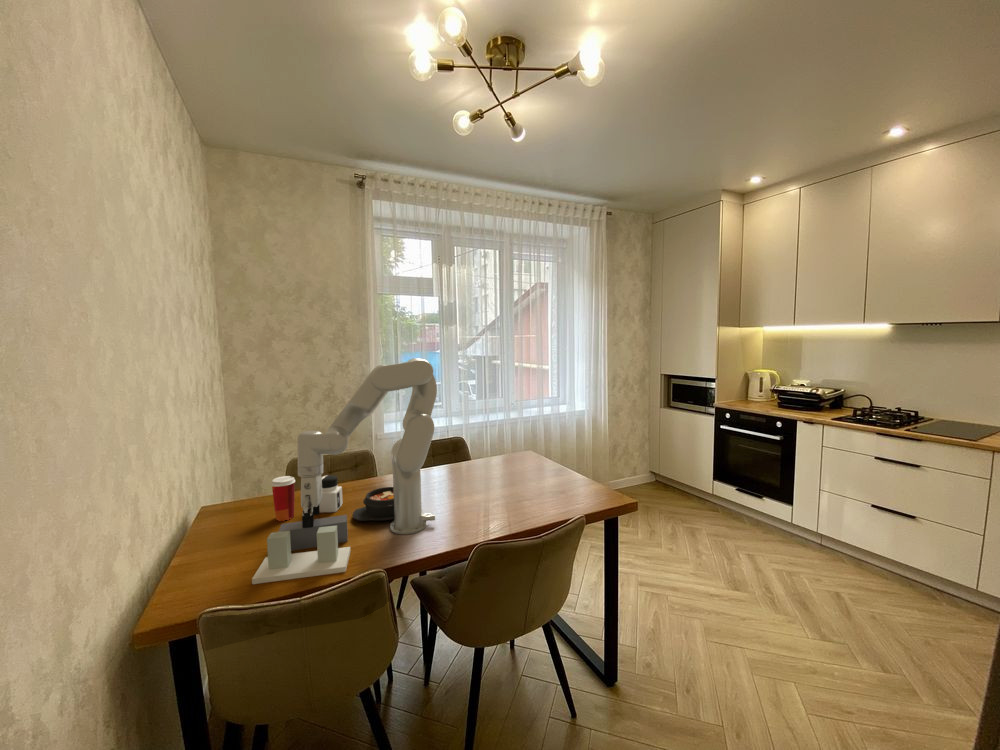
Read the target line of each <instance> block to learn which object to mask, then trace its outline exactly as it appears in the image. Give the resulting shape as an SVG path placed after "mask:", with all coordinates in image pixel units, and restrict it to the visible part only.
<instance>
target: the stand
mask: <svg viewBox="0 0 1000 750" xmlns="http://www.w3.org/2000/svg"><path fill="white" fill-rule="evenodd" d="M266 546H267V547H266V548H267V556H265V557H264V559H263V561H262V563H261V564H260V565H259V567H258V568H257V570H256V572H255V574H254V575H253V576H252V578H251V584H252V585H257V584H264V583H265V584H266V583H271V582H280V581H288V580H295V579H301V578H302V579H303V578H310V577H317V576H325V575H333V574H339V573H345V572H347V569H348V568H347V567H348V564H349V560H350V555H351V552H352V551H351V546H347V547H345V546H344V547H339V543H338V534H337V526H328V527H319V529H318V531H317V547H316V548H317V550H313V551H305V552H295V553H292V551H291V541H290V531H282V532H279V531H275V532H270V534H269V535H268V537H267V538H266Z"/></svg>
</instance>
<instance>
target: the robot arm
mask: <svg viewBox="0 0 1000 750" xmlns="http://www.w3.org/2000/svg"><path fill="white" fill-rule="evenodd" d="M408 388H412V391H411V395H410V399H409V402H408V406H407V408H406V411H405V414H404V417H403V419H402V428H403V432H404V433H403V434H402V435H403V436H402V438H400V439H398V440H397V441H395V443H394V444H393V446H392V448H391V453H390V454H391V455H390V456H391V468H392V484H393V485H392V487H393V495H394V519H393V521H392V522H391V523H390V525H389V529H390V531H391V533H394V534H396V535H397V534H398V535H412V534H416V533H419V532H421V531H423V530H424V529H425V528H426V527H427V522H429V521H431V522H432V521H436V515H435V514H432V513H430V512H428V513H424V512H423V509H422V476H421V475H422V474H421V473H422V472H421V468H422V467H423V466H424V464H425V461H426V459H427V456H428V453H429V449H430V447H431V444H432V441H433V438H434V434H435V433H434V432H435V422H434V420H433V418H432V414H433V410H434V406H435V403H436V398H437V392H438V385H437V380H436V378H435V375H434V367H433V366H432V364H431V363H430V362H429V361H428V360H427V359H424V358H419V357H418V358H417V357H415V358H411V359H409V360H407V361H405V362H399V363H394V364H388V365H387V364H379V365H377V366H375V367H374V368H373V369H372V370H371V371H370V373H369V374H368V375H367V377H366V378H365V380H364V381H363V382H362V384H361V385H360V386H359V388H358V389H357V390H356V391H355V393H354V394H353V395H352V397H351V398H350V400H348V402H347V403H346V404H345V406H344V408H343V409H342V410H341V411H340V412H339V414H338V415H337V416H336V418H335V419H334V421H333V422H332V423H331V424H330V426H329V427H328V429H327V430H326V431H325V433H322V432H321V430H320V431H318V430H305V431H301V432H300V433H299V434H297V439H296V440H297V476H298V477H300V478H301V479H300V506H301V508H302V512H301V513H302V514H301V515H302V516H301V521H302V528H312V527H313V526H314V519H315V518H314V517H315V516H319V515H320V513H321V512H320V508H319V503H320V502H321V499H322V496H323V495H322V477H323V476H322V475H323V474H324V455H332V456H337V455H341V454H343V453H344V452H345V451H346V450H347V448H348V445H349V438H350V437H351V436H352V434H353V432H354V431H356V428H357V427H358V426H359V425H360V423H362V422H363V421H364V420H365V419H366V418H368V417H370V416H371V415H372V414H373V413H374V412H375V411H376V409H377V408H378V406H379V405H380V404H381V402H382V401H383V400H384V398H385V397H386V396H387V394H388V393H389V392H393V391H401V390H404V389H408Z"/></svg>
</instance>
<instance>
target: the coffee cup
mask: <svg viewBox="0 0 1000 750" xmlns="http://www.w3.org/2000/svg"><path fill="white" fill-rule="evenodd" d="M295 483H296V479H295V477H294V476H292V475H291V476H290V475H284V476H283V475H282V476H278V477H275V478H273V479H272V480H271V483H270V487H271V489H272V496H273V507H274V514H275V520H276V521H277V520H278V521H277V522H286V521H285V520H287V521H290V520H292V519H293V518H294V517H295V497H296V495H295V493H296V492H295V491H296V490H295V489H296V488H295V487H296V486H295V485H296V484H295ZM291 518H292V519H291ZM289 519H290V520H289Z"/></svg>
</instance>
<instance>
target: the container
mask: <svg viewBox="0 0 1000 750" xmlns="http://www.w3.org/2000/svg"><path fill="white" fill-rule="evenodd" d="M321 477H322V495H323V496H322V499H321V502H320V503H319V508H320V513H336V512H337V511H338V510H339V509H341V507H342V506H343V505H342V504H344V502H343V486H341V485H340V486H339V485H338V476H337V475H333V474H328V475H324V476H321Z"/></svg>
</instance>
